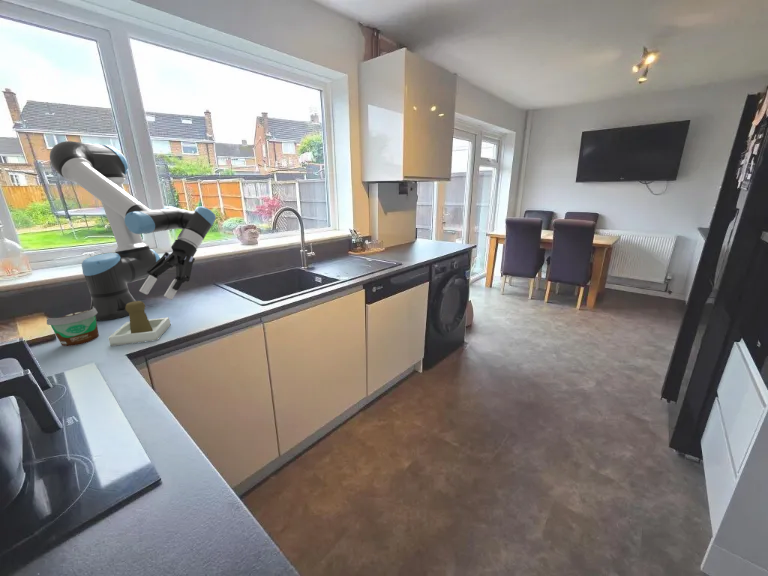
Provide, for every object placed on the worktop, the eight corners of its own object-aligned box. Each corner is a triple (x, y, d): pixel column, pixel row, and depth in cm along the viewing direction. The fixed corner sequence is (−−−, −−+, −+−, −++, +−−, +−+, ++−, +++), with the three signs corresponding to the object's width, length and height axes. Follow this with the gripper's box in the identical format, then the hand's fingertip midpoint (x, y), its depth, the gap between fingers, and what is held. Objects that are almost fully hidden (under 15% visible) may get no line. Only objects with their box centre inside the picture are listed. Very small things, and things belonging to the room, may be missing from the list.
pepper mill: (141, 337, 106) (133, 305, 103) (126, 335, 107) (117, 304, 104) (157, 329, 112) (149, 299, 109) (142, 328, 113) (134, 298, 110)
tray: (129, 329, 114) (127, 321, 113) (170, 324, 117) (168, 317, 117) (110, 346, 102) (108, 337, 101) (157, 340, 106) (155, 332, 105)
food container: (61, 351, 99) (51, 321, 96) (55, 347, 102) (44, 317, 99) (110, 336, 109) (102, 308, 106) (103, 332, 112) (94, 305, 109)
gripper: (218, 252, 117) (188, 304, 109) (173, 247, 127) (143, 295, 119) (202, 240, 111) (168, 295, 103) (156, 236, 121) (123, 286, 113)
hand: (155, 295), depth 111 cm, fingers open, 13 cm apart
